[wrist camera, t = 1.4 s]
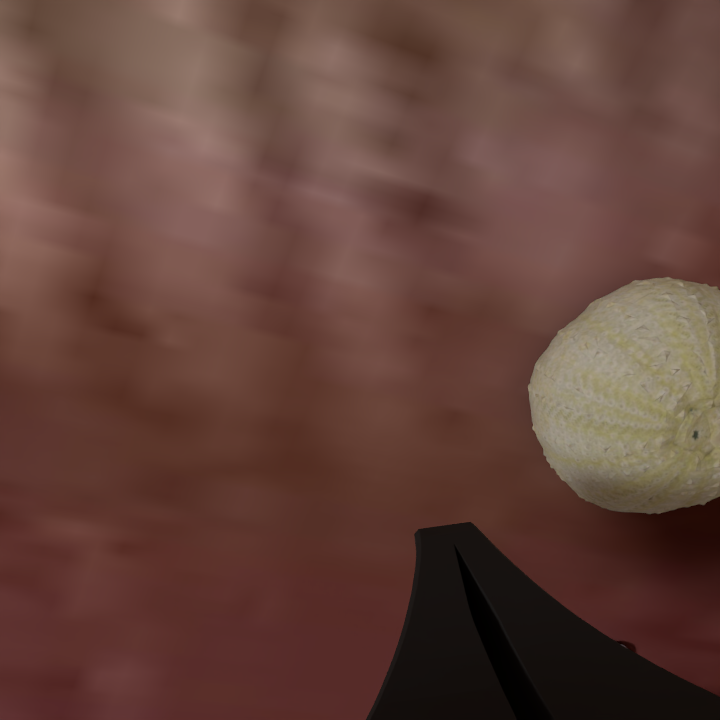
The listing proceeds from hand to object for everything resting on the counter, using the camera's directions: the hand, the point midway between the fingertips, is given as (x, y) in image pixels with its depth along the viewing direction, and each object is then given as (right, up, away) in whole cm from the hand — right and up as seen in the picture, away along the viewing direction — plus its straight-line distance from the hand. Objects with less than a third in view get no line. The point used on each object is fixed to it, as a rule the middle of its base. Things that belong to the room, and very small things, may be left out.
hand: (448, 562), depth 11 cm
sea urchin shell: (+9, +4, +9) cm, 14 cm away
